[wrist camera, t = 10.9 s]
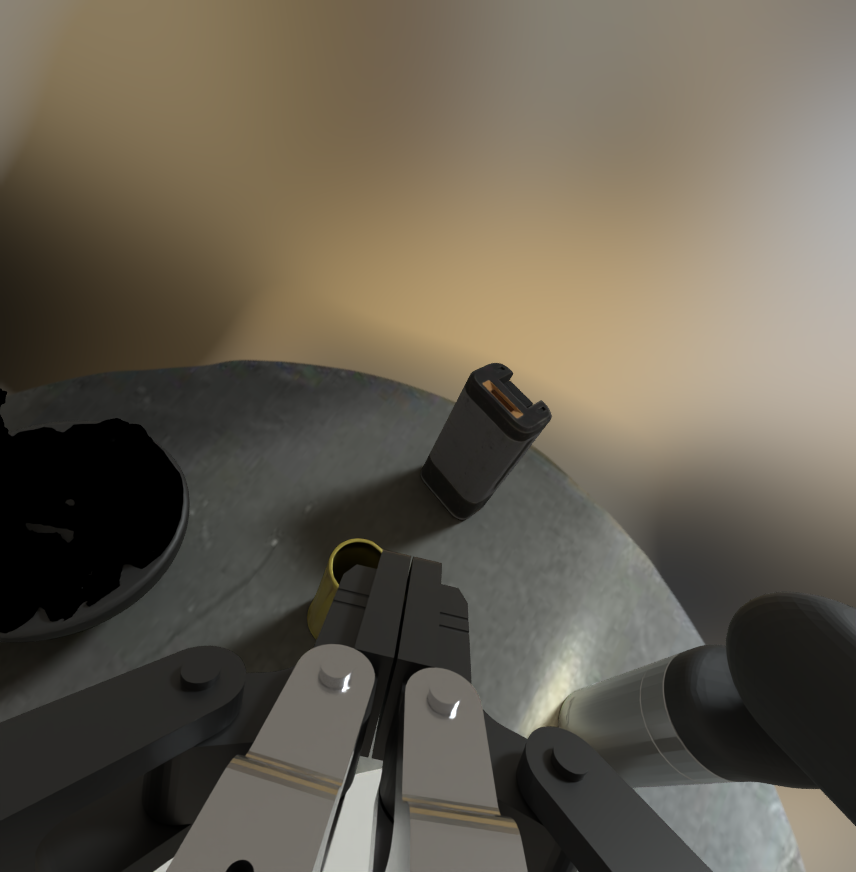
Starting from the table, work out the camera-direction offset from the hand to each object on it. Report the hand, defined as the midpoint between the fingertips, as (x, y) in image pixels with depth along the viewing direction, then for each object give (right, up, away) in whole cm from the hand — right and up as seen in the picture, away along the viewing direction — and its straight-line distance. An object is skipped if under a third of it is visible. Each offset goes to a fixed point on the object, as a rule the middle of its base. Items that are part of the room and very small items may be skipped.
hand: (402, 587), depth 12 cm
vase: (-9, -16, +39) cm, 44 cm away
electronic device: (+4, -4, +54) cm, 54 cm away
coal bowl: (-34, -9, +36) cm, 50 cm away
